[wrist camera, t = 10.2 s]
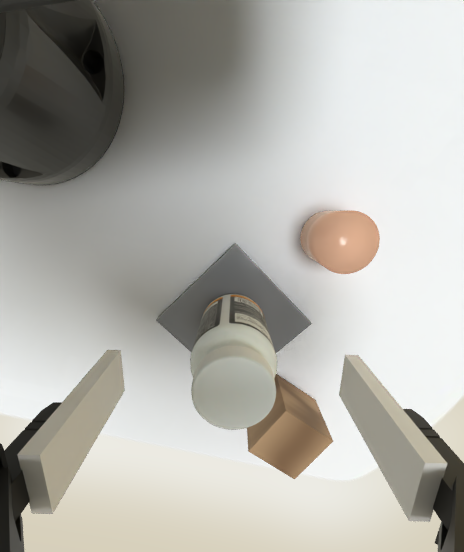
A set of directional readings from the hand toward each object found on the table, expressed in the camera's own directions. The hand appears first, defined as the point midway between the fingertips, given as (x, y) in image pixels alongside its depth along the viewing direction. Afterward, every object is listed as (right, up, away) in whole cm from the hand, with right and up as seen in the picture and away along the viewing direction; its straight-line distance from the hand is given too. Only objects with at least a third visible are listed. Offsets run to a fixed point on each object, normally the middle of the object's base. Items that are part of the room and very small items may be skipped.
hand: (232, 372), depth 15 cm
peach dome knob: (+8, +9, +7) cm, 14 cm away
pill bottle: (0, +2, +9) cm, 9 cm away
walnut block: (+5, -7, +11) cm, 14 cm away
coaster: (0, +2, +9) cm, 9 cm away
